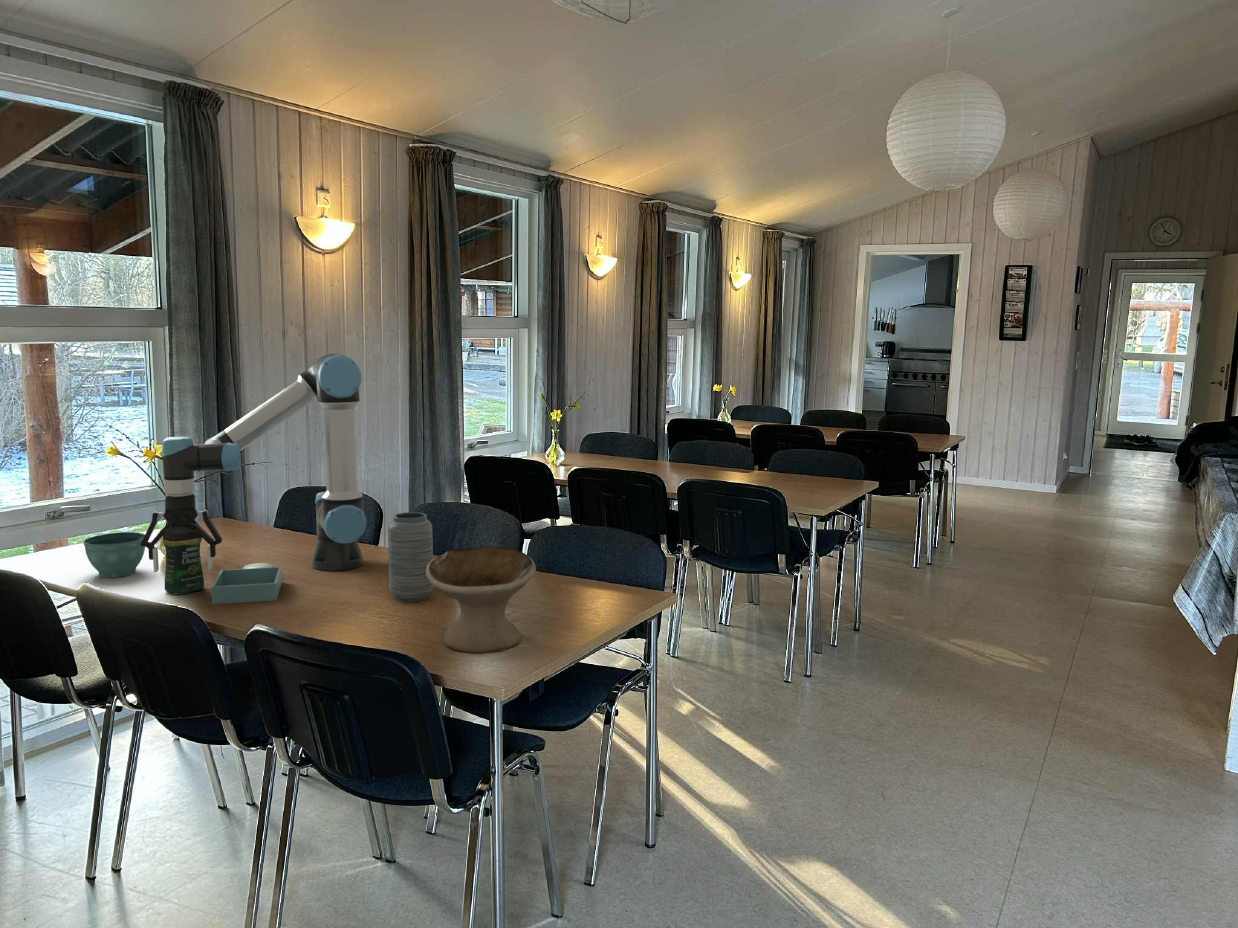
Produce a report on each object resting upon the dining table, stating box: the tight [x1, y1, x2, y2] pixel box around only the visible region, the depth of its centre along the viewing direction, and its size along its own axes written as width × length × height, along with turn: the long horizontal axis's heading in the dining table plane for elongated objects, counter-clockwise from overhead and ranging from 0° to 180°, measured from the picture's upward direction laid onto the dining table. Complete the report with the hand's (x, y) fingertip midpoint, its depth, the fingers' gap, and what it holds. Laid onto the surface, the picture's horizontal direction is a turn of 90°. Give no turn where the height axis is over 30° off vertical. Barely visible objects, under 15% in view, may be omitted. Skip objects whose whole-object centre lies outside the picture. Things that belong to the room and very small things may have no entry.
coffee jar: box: [162, 526, 205, 595], centre depth 256 cm, size 10×8×19 cm
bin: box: [211, 566, 283, 605], centre depth 256 cm, size 16×18×5 cm
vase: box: [387, 511, 434, 604], centre depth 252 cm, size 12×12×23 cm
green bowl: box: [82, 531, 146, 579], centre depth 273 cm, size 16×16×11 cm
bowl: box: [426, 546, 537, 654], centre depth 219 cm, size 26×25×20 cm
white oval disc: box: [242, 562, 274, 569], centre depth 272 cm, size 8×8×4 cm
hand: (183, 569), depth 257 cm, fingers open, 13 cm apart
